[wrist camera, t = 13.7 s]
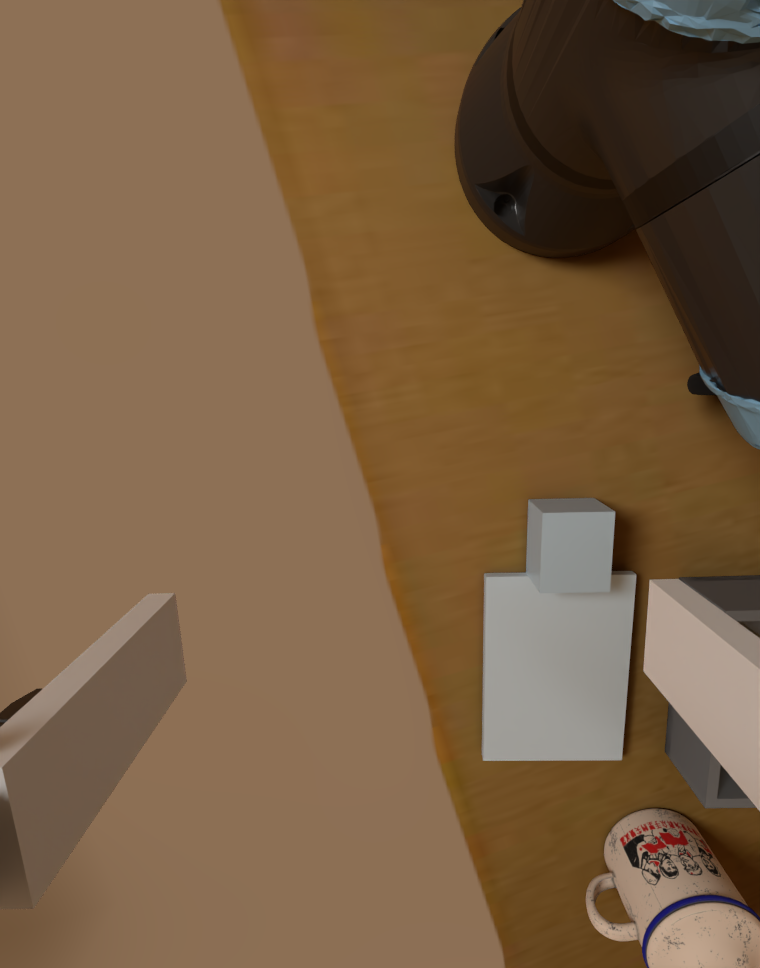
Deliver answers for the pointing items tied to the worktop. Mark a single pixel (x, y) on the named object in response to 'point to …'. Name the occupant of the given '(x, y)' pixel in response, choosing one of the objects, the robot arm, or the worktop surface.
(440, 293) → the worktop surface
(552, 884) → the worktop surface
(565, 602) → the lid
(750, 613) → the tub
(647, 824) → the teacup with lid
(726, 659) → the robot arm
